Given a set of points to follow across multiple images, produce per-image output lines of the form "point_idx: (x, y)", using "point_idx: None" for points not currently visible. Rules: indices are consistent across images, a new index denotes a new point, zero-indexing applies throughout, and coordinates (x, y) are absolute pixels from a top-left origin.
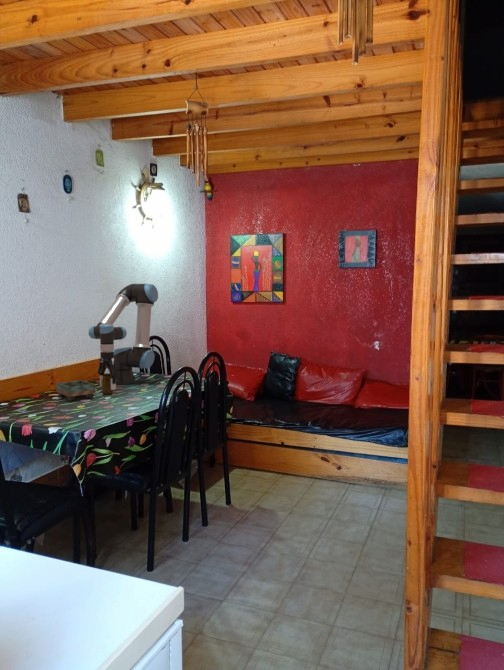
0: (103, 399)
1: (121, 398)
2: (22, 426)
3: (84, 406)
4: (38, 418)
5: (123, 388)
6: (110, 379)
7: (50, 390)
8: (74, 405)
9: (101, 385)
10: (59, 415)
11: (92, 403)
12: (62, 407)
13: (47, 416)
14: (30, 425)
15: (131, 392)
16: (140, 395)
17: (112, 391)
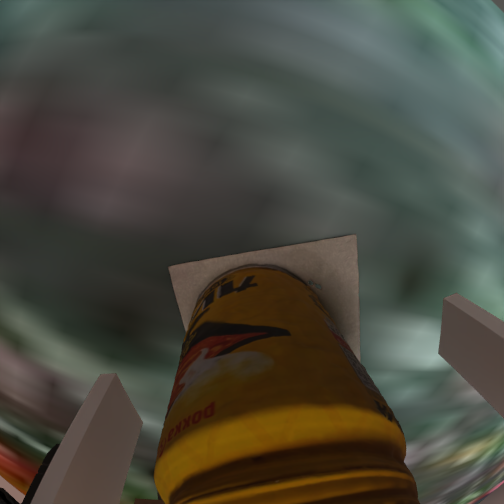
0: (445, 380)
1: (500, 248)
2: (491, 491)
3: (482, 441)
4: (474, 495)
5: (14, 81)
6: (404, 447)
7: (25, 489)
8: (438, 477)
9: (133, 422)
10: (495, 469)
11: (472, 424)
12: (429, 497)
13: (477, 488)
14: (498, 484)
15: (295, 34)
16: (470, 57)
17: (308, 291)
